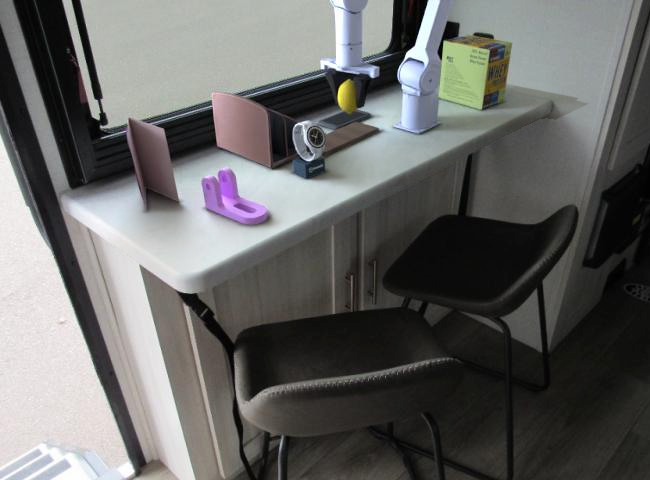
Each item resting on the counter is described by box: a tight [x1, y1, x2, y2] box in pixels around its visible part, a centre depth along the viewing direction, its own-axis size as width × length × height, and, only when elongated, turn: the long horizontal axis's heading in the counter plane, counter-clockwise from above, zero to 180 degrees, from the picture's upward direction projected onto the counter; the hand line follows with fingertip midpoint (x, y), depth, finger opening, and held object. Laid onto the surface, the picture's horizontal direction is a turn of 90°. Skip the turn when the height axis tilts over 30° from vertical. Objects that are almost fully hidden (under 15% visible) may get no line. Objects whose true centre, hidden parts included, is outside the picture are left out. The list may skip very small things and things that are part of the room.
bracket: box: [201, 167, 268, 225], centre depth 109 cm, size 13×6×7 cm, turn 52°
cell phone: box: [317, 109, 372, 131], centre depth 150 cm, size 7×14×1 cm, turn 138°
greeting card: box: [124, 116, 180, 209], centre depth 113 cm, size 11×7×15 cm, turn 16°
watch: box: [292, 120, 327, 180], centre depth 121 cm, size 6×8×11 cm
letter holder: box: [211, 91, 301, 170], centre depth 131 cm, size 10×20×14 cm, turn 47°
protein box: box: [438, 34, 513, 111], centre depth 157 cm, size 10×15×16 cm
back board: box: [304, 121, 380, 157], centre depth 139 cm, size 20×8×1 cm, turn 138°
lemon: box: [338, 78, 359, 114], centre depth 131 cm, size 6×6×8 cm
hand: (349, 104), depth 132 cm, fingers closed on lemon, 5 cm apart
